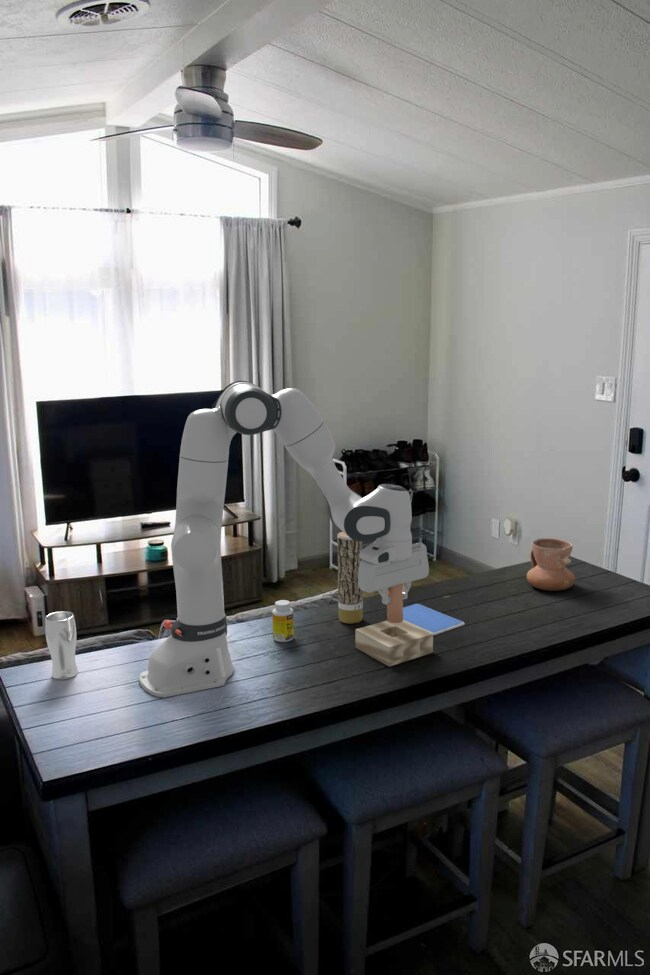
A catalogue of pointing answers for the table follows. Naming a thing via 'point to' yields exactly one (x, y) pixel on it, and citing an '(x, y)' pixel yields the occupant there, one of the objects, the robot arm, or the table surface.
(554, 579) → the ceramic jug
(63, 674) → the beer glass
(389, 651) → the socket block
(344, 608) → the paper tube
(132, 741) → the table surface
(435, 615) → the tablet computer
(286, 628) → the supplement bottle
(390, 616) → the dowel
